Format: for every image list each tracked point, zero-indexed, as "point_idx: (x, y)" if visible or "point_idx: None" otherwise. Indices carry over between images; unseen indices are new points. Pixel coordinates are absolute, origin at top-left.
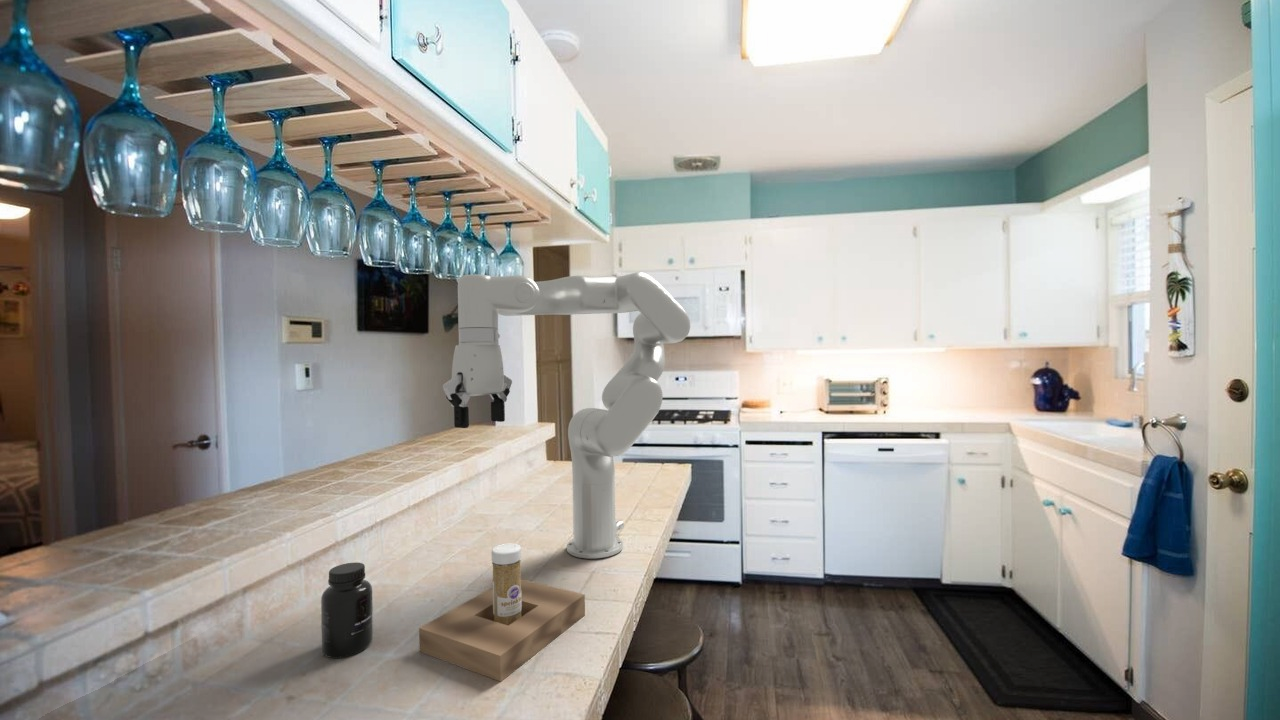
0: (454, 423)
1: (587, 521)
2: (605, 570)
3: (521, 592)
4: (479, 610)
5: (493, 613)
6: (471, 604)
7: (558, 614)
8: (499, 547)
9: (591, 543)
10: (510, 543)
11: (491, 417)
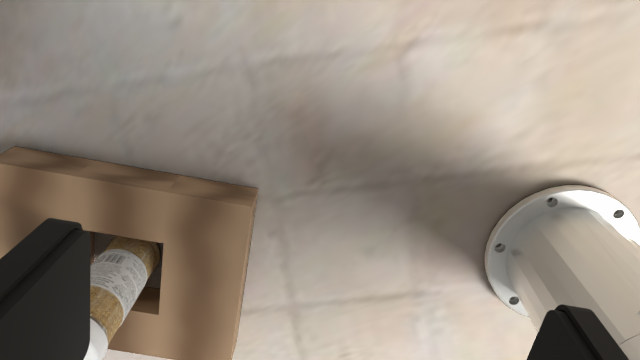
0: (35, 229)
1: (533, 310)
2: (431, 313)
3: (191, 263)
4: (93, 227)
5: (98, 256)
6: (105, 198)
7: (149, 353)
8: None
9: (513, 281)
10: (89, 352)
11: (560, 330)
